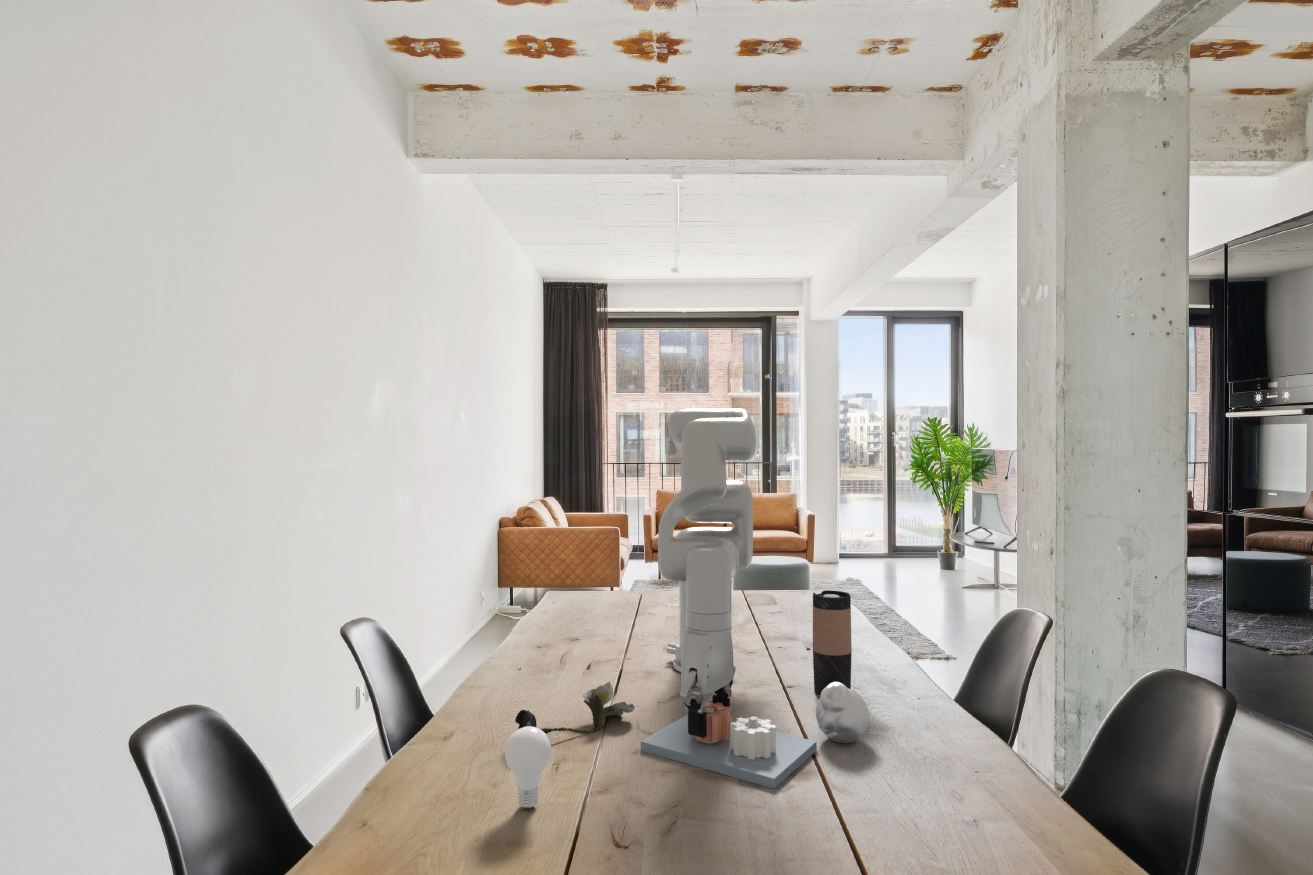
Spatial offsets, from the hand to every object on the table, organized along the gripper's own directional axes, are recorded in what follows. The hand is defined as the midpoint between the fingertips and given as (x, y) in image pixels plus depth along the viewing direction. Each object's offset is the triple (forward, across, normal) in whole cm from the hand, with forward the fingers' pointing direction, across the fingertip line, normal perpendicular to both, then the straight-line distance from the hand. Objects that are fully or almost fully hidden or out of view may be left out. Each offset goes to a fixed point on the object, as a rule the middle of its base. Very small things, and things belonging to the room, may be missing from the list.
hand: (709, 726), depth 120 cm
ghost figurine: (+4, -15, +17) cm, 23 cm away
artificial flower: (+4, +7, -23) cm, 25 cm away
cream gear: (+2, 0, +8) cm, 8 cm away
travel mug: (+4, -37, +7) cm, 38 cm away
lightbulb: (+4, +31, -11) cm, 33 cm away
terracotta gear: (+1, 0, 0) cm, 1 cm away
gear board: (+3, -1, +3) cm, 5 cm away
